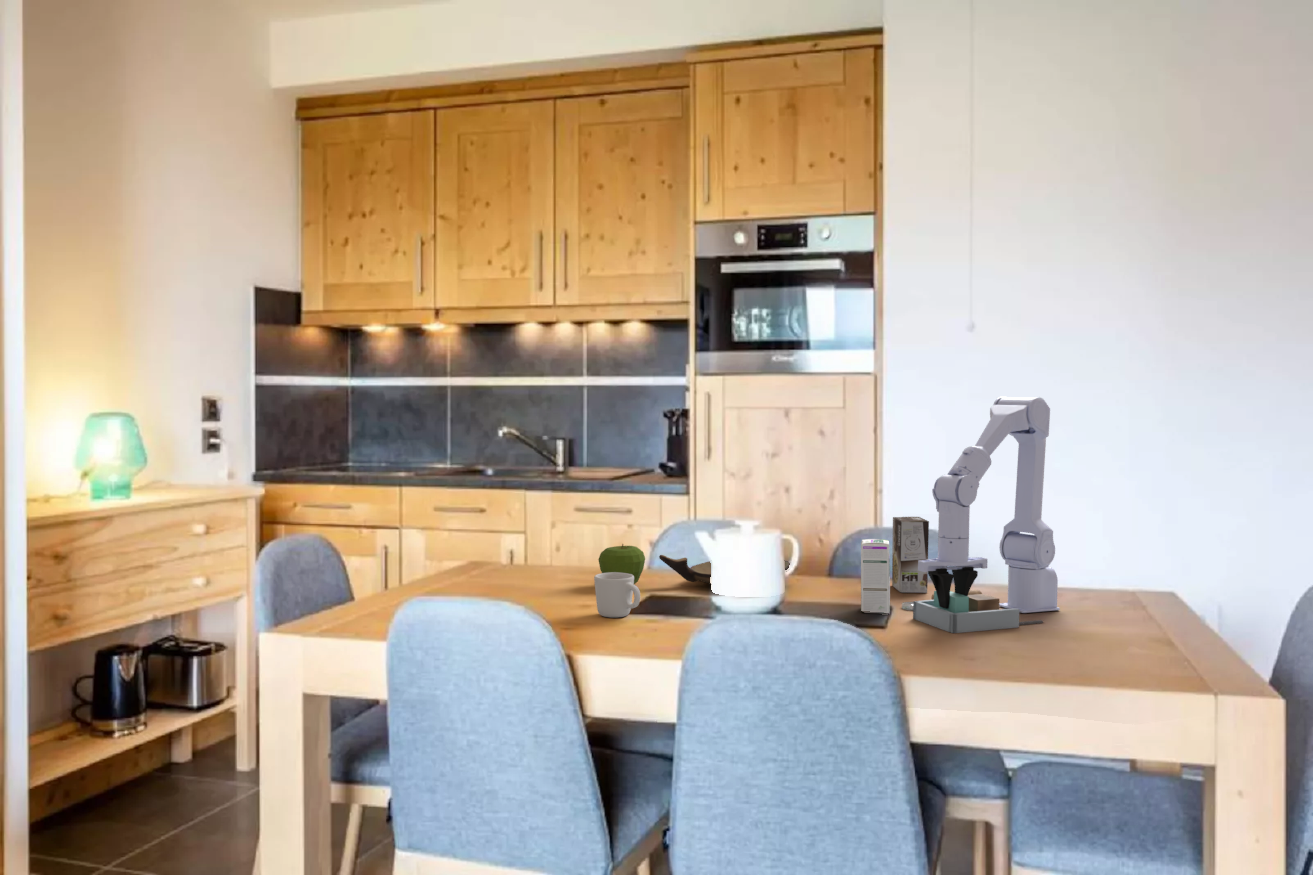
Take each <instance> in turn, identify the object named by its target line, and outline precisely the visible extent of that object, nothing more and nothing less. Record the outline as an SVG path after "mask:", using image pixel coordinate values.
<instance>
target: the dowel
mask: <svg viewBox="0 0 1313 875" xmlns="http://www.w3.org/2000/svg"><path fill="white" fill-rule="evenodd" d="M952 592H955V590H953V591H952ZM974 594H983V592H982V591H981V590H979V589H970V590H969V593H968V595H974ZM930 600H934V593H933V594H932V595H931V599H930Z"/></svg>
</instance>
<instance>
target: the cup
mask: <svg viewBox="0 0 1313 875" xmlns="http://www.w3.org/2000/svg"><path fill="white" fill-rule="evenodd" d="M593 580H594V588H595V589H594V592H595V600H596V602H595V603H596V608H597V609H596V610H597V612H598V615H600V616H602V617H605V618H611V619H612V618H613V619H615V618H623V617H627V616H629V614H630V612H631V610H632V609H634V608H635V609H636V608H637V607H638V606H639V605H640V601H641V591H640V589H639V587H638V586H637V585H636V584H634V576H633V575H632V574H628V573H618V572H610V573H602V572H601V573H598V574H595V575H594V578H593ZM633 595H634V597H633Z"/></svg>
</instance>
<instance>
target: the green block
mask: <svg viewBox="0 0 1313 875" xmlns="http://www.w3.org/2000/svg"><path fill="white" fill-rule="evenodd" d="M933 594H934V607H937V608H940V609H943V610H946V611H949V612H952V613H963V612H968V610H969V597H968V596H965V595H961V594H958V593H955V592H952V591H951V590H950V603H949V608H942V607H940V606H939V601H938V597H937V593H936V590H934V591H933Z"/></svg>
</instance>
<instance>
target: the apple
mask: <svg viewBox="0 0 1313 875" xmlns="http://www.w3.org/2000/svg"><path fill="white" fill-rule="evenodd" d="M597 560H598V565H599V569H600V572H601V573H610V572H618V573H628V574H632V575H633V576H634V585H636V584H637V582H639V579H640V577H641V576H642V573H643V570H644V567H645V562H646V557H645V554H644V552H643V550H641V549H640V548H639V547H637V546H634V545H624V543H622V544H621V545H615V546H610V547H607V548H605V549H604V550H603V551H601V552H600V554H599V557H598V559H597Z"/></svg>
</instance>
